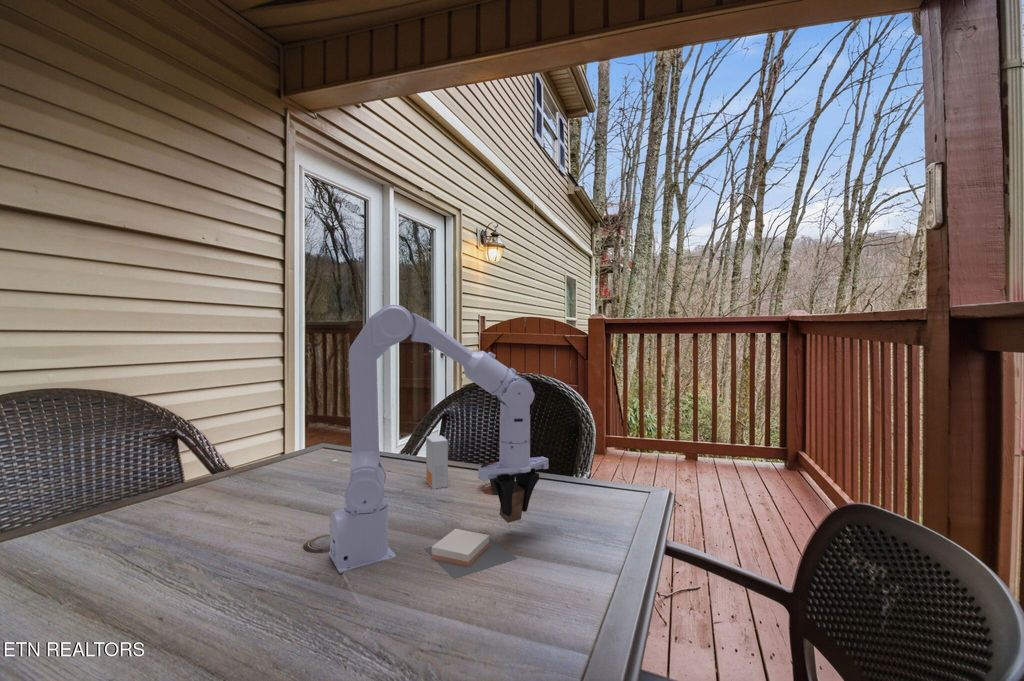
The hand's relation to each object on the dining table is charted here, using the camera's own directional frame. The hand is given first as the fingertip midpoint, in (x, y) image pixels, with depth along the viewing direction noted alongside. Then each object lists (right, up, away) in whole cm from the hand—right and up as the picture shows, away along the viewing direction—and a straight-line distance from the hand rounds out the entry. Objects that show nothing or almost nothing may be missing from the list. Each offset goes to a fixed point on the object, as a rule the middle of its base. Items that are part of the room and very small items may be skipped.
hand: (514, 512), depth 88 cm
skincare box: (-20, -5, +32) cm, 37 cm away
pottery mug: (-3, -5, +27) cm, 28 cm away
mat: (-8, -6, -6) cm, 11 cm away
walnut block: (-1, -1, +1) cm, 2 cm away
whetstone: (-13, -4, -4) cm, 14 cm away
